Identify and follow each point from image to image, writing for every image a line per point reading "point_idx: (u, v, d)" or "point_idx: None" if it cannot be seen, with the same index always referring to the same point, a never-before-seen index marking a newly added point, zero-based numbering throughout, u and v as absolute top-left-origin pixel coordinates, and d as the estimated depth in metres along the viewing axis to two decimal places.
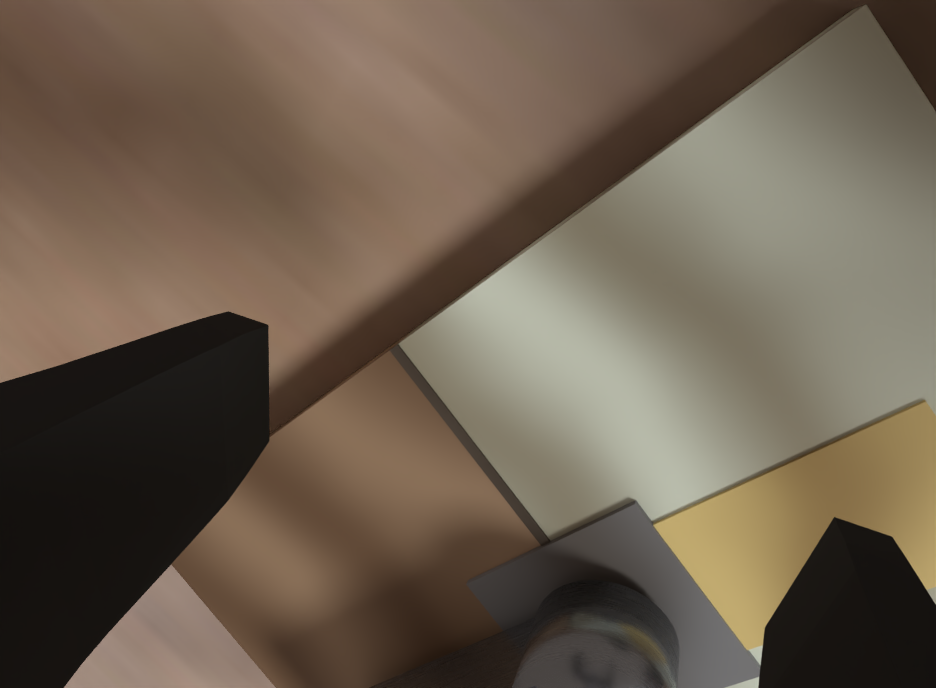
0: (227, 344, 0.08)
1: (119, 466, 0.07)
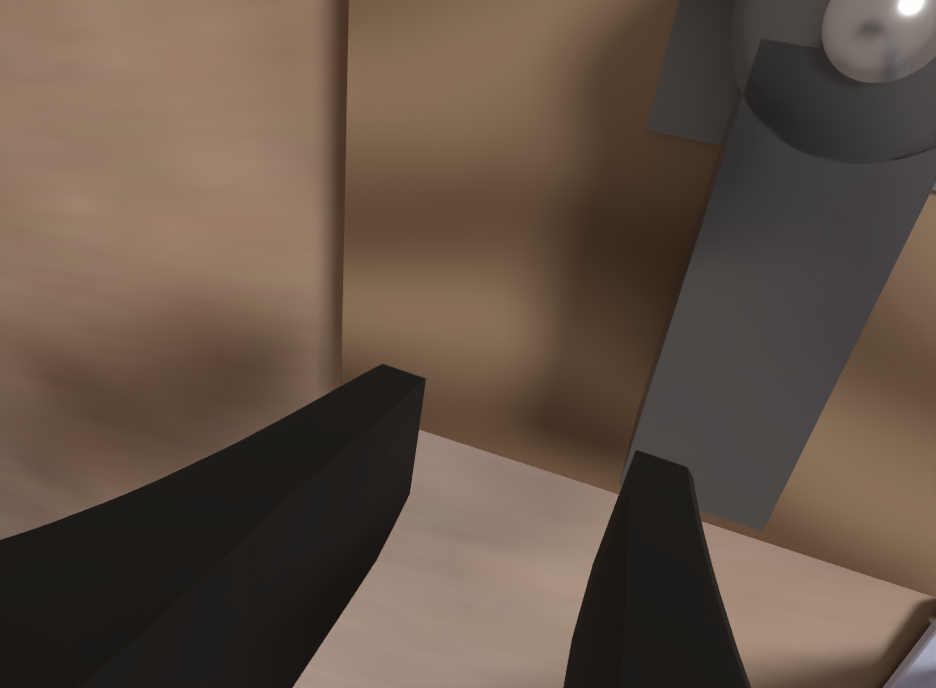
0: (398, 404, 0.08)
1: (309, 543, 0.07)
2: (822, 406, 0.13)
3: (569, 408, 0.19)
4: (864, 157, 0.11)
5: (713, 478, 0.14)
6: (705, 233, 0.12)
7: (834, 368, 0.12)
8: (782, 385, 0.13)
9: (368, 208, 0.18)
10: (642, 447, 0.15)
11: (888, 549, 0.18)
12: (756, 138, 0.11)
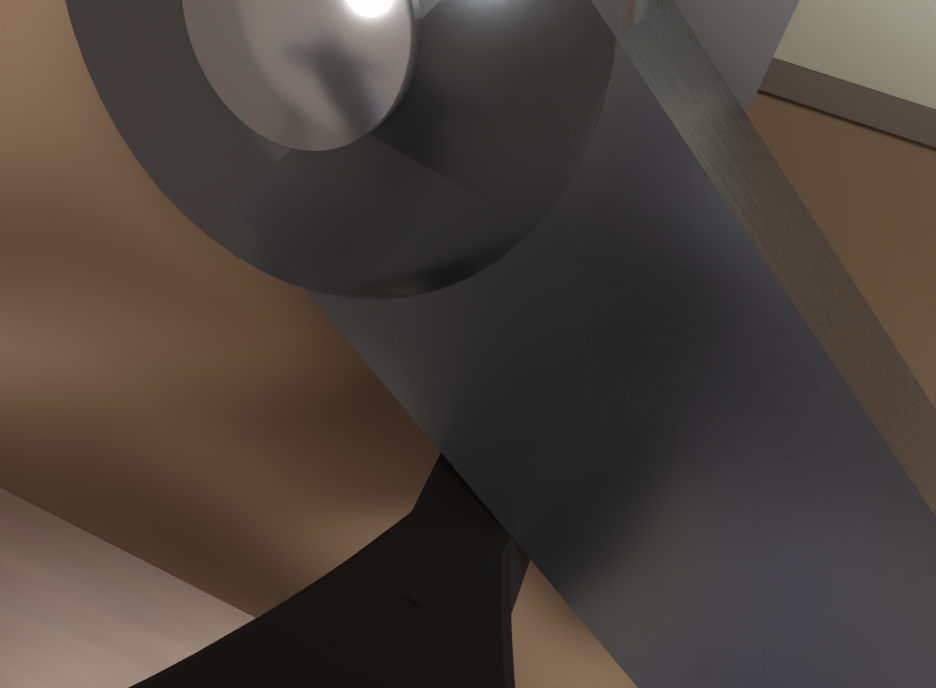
0: None
1: None
2: None
3: (204, 517, 0.14)
4: (531, 212, 0.05)
5: None
6: (485, 491, 0.06)
7: None
8: (884, 641, 0.05)
9: None
10: None
11: None
12: (381, 322, 0.06)
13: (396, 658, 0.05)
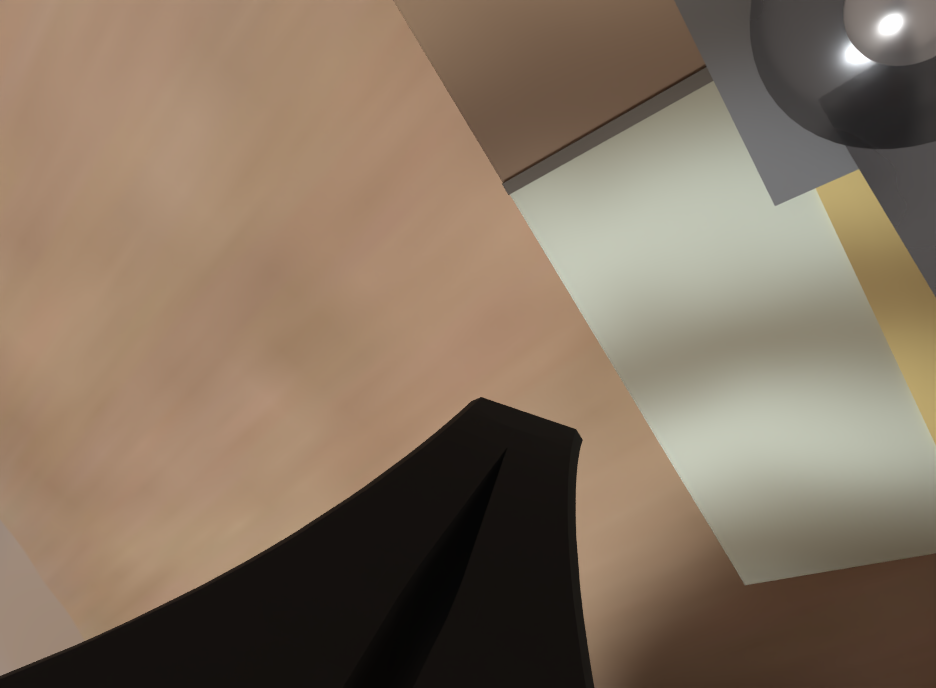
0: (508, 442, 0.08)
1: (434, 593, 0.07)
2: None
3: None
4: None
5: None
6: (923, 261, 0.11)
7: None
8: None
9: None
10: None
11: None
12: (890, 162, 0.11)
13: None
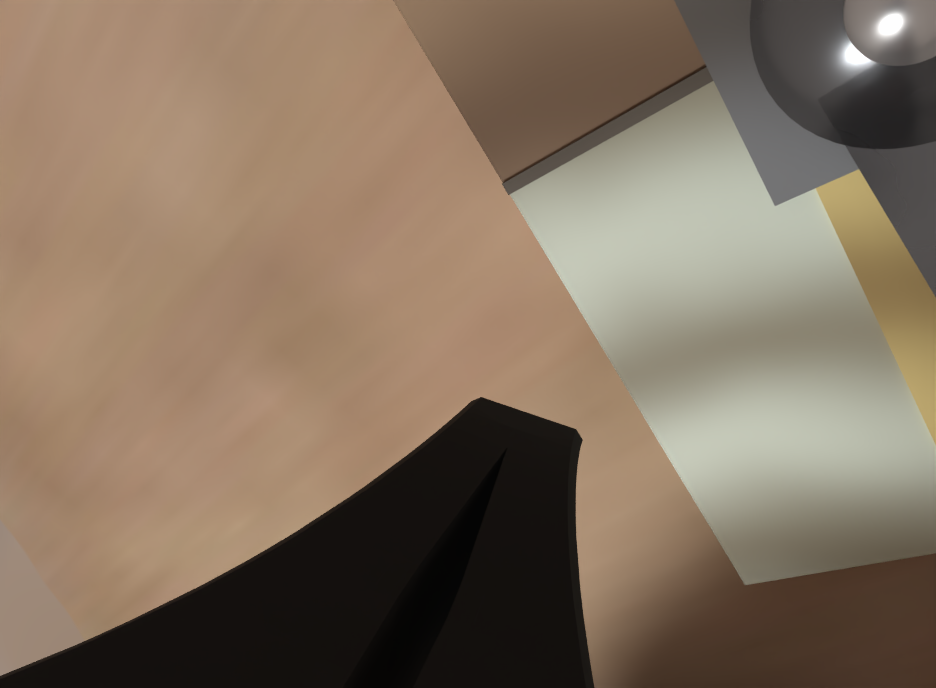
0: (508, 442, 0.08)
1: (434, 593, 0.07)
2: None
3: None
4: None
5: None
6: (923, 261, 0.11)
7: None
8: None
9: None
10: None
11: None
12: (890, 162, 0.11)
13: None
